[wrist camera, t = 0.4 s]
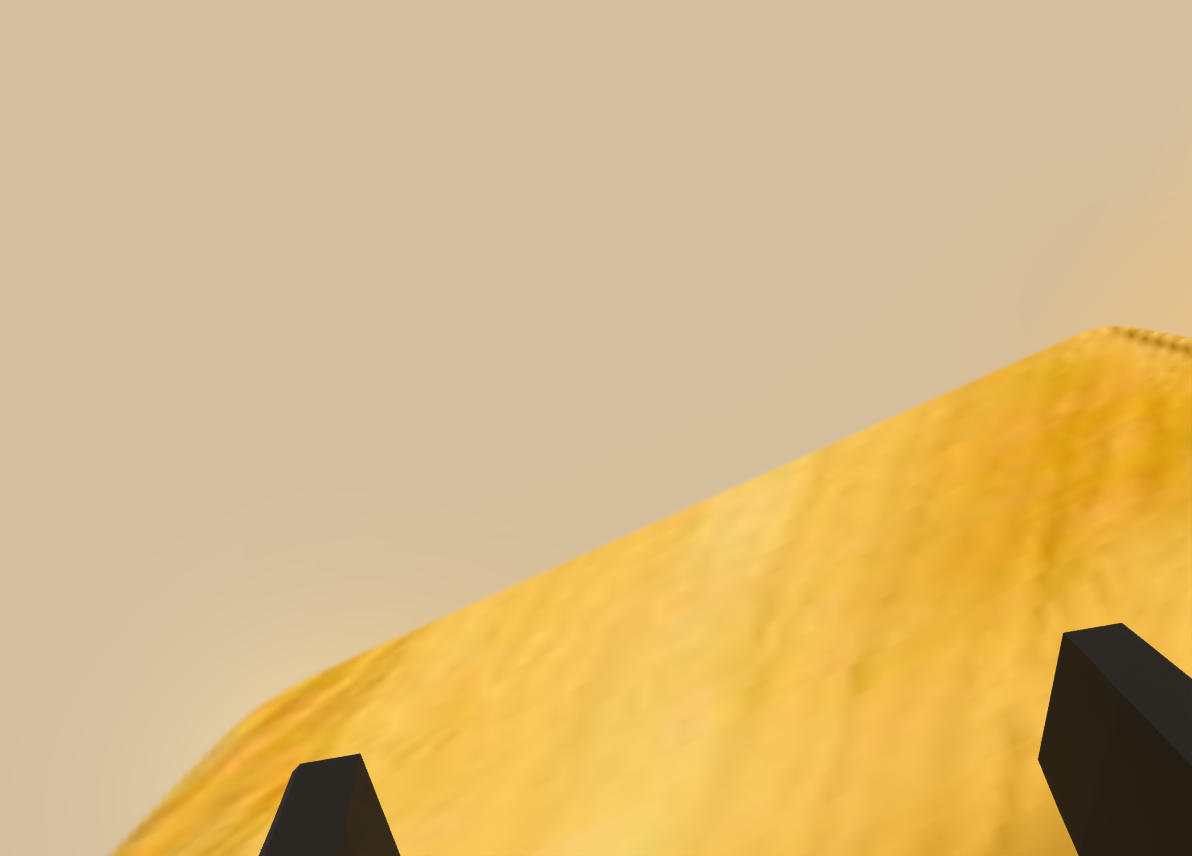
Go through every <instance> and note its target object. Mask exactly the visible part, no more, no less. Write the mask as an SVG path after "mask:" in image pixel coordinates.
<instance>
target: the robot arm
mask: <svg viewBox="0 0 1192 856" xmlns="http://www.w3.org/2000/svg"><path fill="white" fill-rule="evenodd" d="M1038 761H1039V763H1040V766H1041V768H1042V770H1043V773H1044V775H1045V778H1046V780H1047V783H1048V785H1049V788H1050V790H1051V792H1052V795H1053V797H1054V800H1055V802H1056V805H1057V807H1058V809H1059V812H1060V814H1061V816H1062V819H1063V821H1064V823H1065V825H1066V828H1067V830H1068V832H1069V835H1070V837H1071V839H1072V841H1073V844H1074V846H1075V848H1076V850H1077V853H1078V855H1079V856H1192V679H1191V678H1190V677H1189V676H1188V675H1186V674H1185V673H1184V672H1183V671H1182V670H1180V669H1179V668H1178V667H1177V666H1175V665H1174V664H1173V663H1172V662H1170V661H1169V660H1168V659H1167V658H1165V657H1164V656H1163V655H1162V654H1160V653H1159V652H1158V651H1157V650H1155V649H1154V648H1153V647H1152V646H1150V645H1149V644H1148V643H1147V642H1145V641H1144V640H1143V639H1142V638H1140V637H1139V636H1138V635H1137V634H1135V633H1134V632H1133V631H1131V630H1130V629H1129V628H1128V627H1126V626H1125V625H1124V624H1123V623H1118V624H1112V625H1106V626H1100V627H1094V628H1089V629H1083V630H1077V631H1071V632H1065V633H1063V637H1062V642H1061V647H1060V652H1059V657H1058V662H1057V667H1056V672H1055V677H1054V682H1053V687H1052V692H1051V697H1050V702H1049V707H1048V712H1047V717H1046V722H1045V727H1044V732H1043V737H1042V742H1041V747H1040V752H1039V757H1038ZM259 856H400V854H399V851H398V848H397V846H396V843H395V841H394V838H393V836H392V833H391V831H390V828H389V825H388V823H387V820H386V818H385V815H384V813H383V810H382V808H381V805H380V802H379V800H378V797H377V795H376V792H375V790H374V787H373V784H372V782H371V779H370V777H369V774H368V772H367V769H366V767H365V764H364V761H363V759H362V756H361V754H355V755H349V756H343V757H337V758H331V759H325V760H320V761H314V762H308V763H302V764H300V765H299V766H298V767H297V768H296V769H295V770H294V771H293V772H292V774H291V777H290V779H289V782H288V785H287V787H286V790H285V793H284V795H283V798H282V800H281V803H280V805H279V808H278V810H277V813H276V815H275V818H274V820H273V823H272V825H271V828H270V830H269V832H268V835H267V837H266V840H265V842H264V844H263V847H262V849H261V852H260V854H259Z"/></svg>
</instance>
